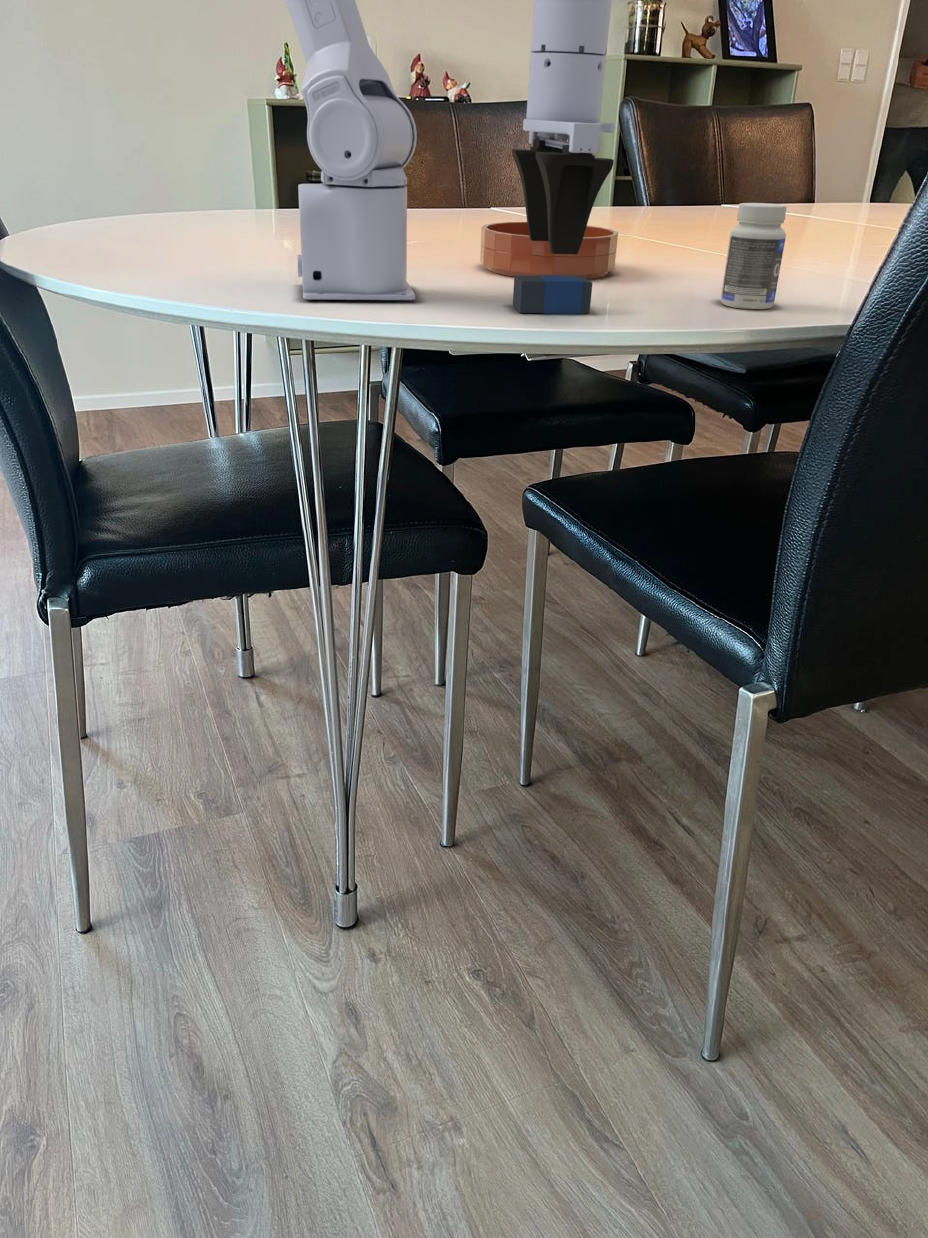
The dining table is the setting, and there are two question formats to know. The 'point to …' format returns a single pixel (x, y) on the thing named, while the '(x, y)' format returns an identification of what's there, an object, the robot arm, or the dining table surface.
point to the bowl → (545, 252)
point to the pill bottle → (754, 256)
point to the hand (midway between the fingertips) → (552, 246)
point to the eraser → (552, 294)
